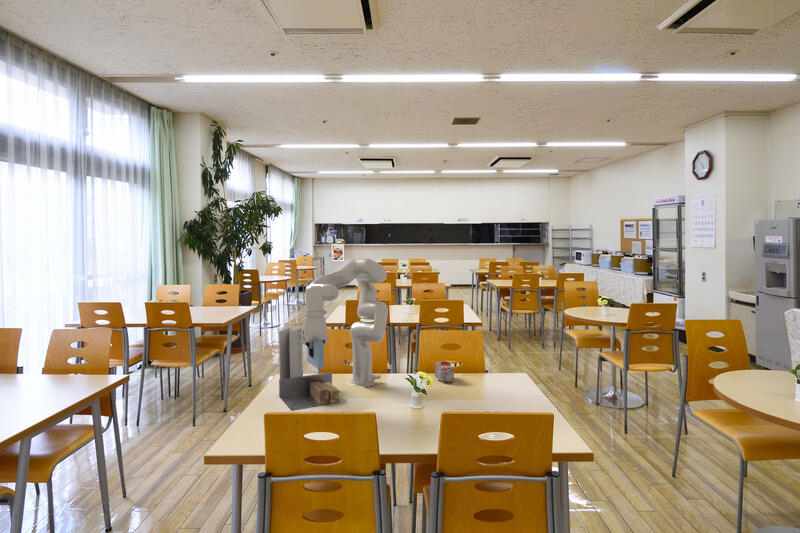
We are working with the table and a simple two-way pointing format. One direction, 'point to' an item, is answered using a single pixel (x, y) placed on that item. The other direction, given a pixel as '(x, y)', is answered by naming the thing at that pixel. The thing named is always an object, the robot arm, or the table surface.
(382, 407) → the table surface
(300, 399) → the rack
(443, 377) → the food item
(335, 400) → the offcut short
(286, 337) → the brochure
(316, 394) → the offcut tall
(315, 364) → the sheet
